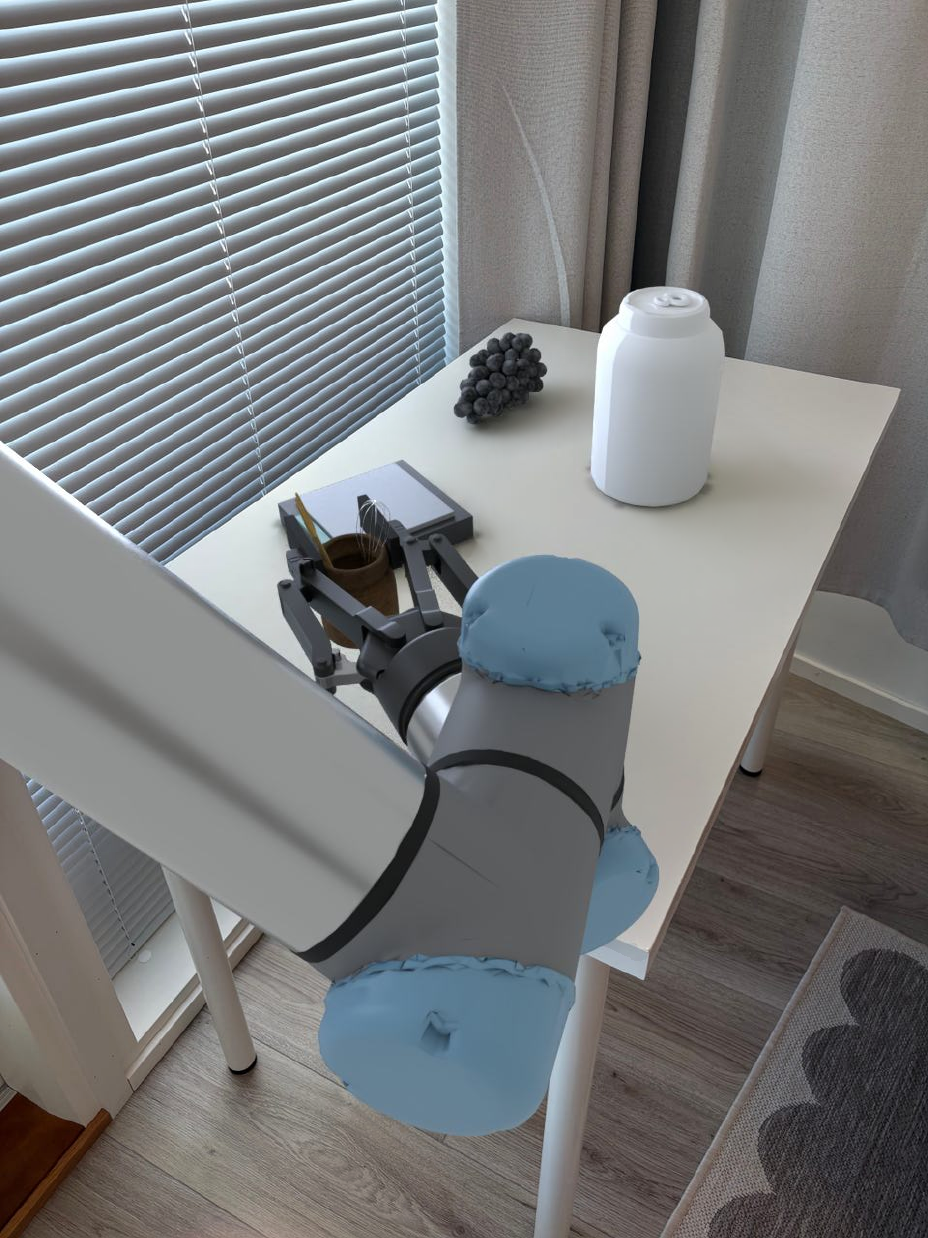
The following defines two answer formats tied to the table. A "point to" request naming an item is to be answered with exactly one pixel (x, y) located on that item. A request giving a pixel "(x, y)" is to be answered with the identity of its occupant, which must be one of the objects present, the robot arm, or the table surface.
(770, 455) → the table surface
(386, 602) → the utensil holder
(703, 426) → the can
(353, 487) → the scale
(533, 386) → the fruit
